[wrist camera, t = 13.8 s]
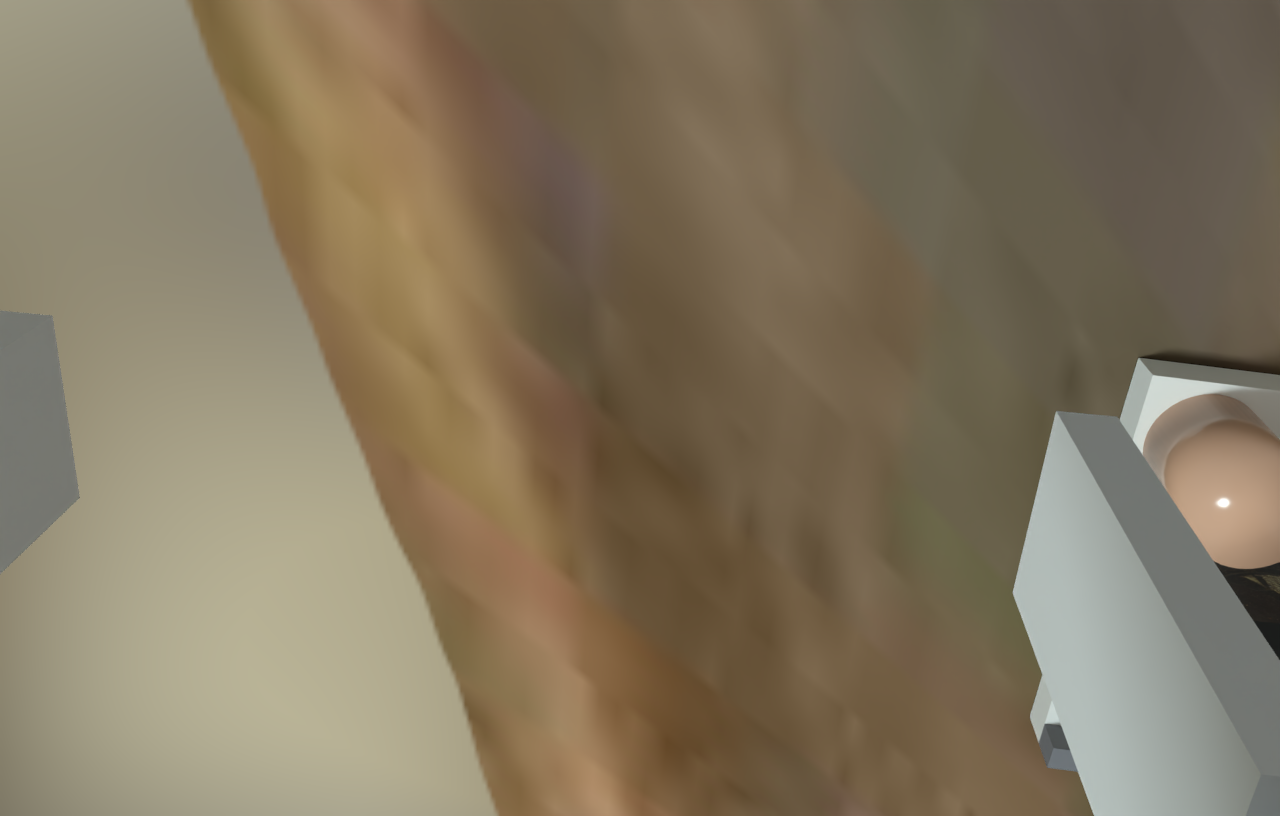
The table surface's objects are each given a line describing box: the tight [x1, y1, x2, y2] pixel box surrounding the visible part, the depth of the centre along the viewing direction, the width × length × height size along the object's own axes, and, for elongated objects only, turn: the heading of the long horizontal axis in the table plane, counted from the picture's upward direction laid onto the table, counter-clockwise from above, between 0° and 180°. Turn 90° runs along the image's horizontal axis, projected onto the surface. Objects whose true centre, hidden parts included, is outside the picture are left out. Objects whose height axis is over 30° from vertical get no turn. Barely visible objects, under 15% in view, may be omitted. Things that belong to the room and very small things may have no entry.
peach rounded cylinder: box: [1143, 394, 1280, 569], centre depth 49 cm, size 5×5×6 cm
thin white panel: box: [1030, 358, 1280, 772], centre depth 55 cm, size 20×14×4 cm
